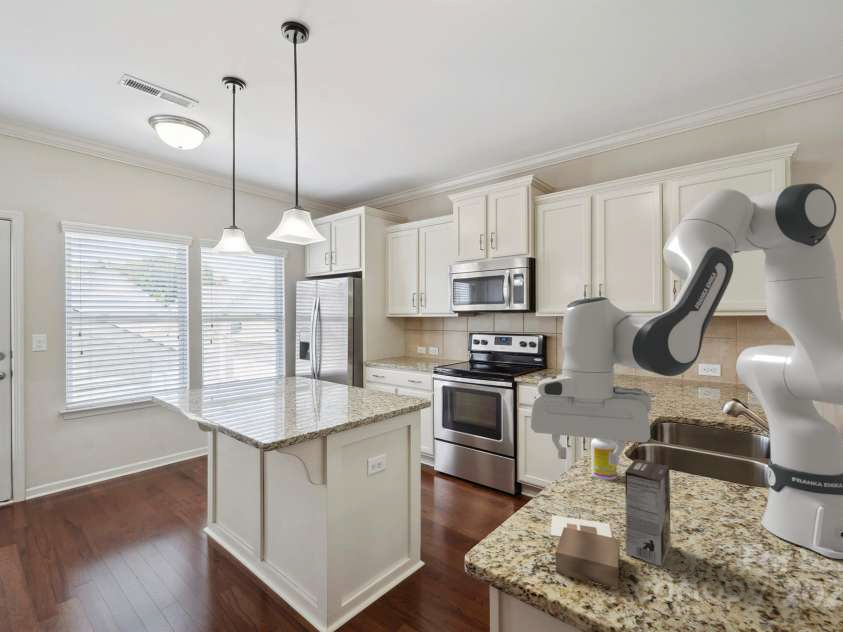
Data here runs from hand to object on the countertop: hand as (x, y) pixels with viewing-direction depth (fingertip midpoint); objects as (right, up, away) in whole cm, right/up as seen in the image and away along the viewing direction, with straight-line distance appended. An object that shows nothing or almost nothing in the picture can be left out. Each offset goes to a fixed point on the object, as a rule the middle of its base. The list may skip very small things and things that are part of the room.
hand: (587, 460), depth 76 cm
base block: (0, -20, 0) cm, 20 cm away
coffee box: (+14, -19, +5) cm, 24 cm away
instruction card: (+4, -19, +12) cm, 23 cm away
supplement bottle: (+22, -20, +42) cm, 51 cm away
